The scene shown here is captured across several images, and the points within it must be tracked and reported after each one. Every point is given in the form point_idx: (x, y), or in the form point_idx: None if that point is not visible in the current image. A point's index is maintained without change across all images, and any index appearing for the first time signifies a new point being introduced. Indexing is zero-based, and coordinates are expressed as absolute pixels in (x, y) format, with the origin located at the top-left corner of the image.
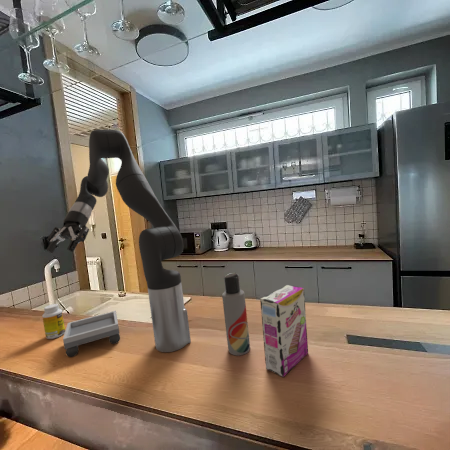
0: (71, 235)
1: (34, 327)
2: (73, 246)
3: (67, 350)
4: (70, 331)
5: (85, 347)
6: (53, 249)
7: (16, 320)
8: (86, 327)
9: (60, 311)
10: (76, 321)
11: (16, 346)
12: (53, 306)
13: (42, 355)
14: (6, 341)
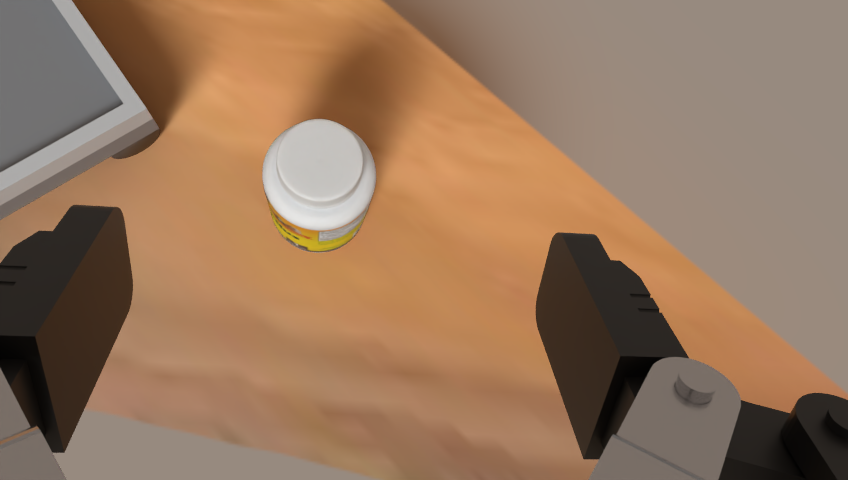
0: (12, 431)
1: None
2: (2, 278)
3: None
4: (94, 64)
5: None
6: (555, 345)
7: None
8: (14, 101)
9: (264, 182)
10: (95, 121)
11: (455, 116)
12: (290, 147)
13: (225, 30)
14: (568, 167)
